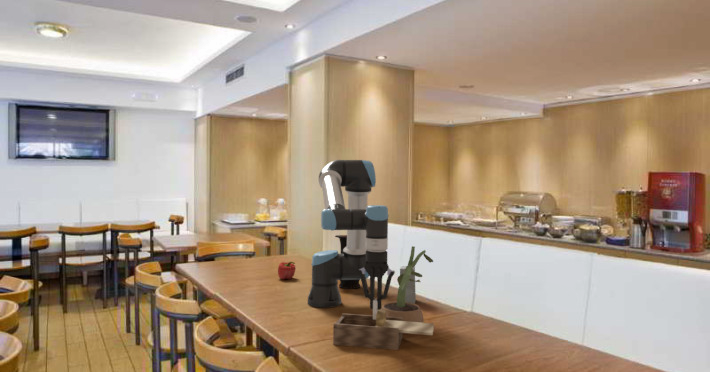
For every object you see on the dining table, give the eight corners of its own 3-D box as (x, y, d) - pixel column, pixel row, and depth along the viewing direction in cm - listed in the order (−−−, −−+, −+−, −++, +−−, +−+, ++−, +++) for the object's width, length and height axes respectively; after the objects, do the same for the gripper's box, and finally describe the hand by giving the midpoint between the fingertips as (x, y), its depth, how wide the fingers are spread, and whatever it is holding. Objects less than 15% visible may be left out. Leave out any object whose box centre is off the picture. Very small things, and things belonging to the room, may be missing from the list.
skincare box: (414, 304, 215) (415, 269, 215) (398, 303, 217) (399, 268, 217) (416, 299, 224) (416, 265, 223) (400, 298, 225) (401, 265, 225)
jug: (325, 289, 242) (325, 229, 242) (339, 281, 260) (340, 226, 259) (364, 293, 235) (364, 232, 234) (376, 285, 252) (377, 228, 251)
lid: (374, 330, 160) (374, 316, 160) (379, 321, 170) (379, 307, 170) (432, 335, 156) (432, 320, 156) (434, 325, 166) (434, 312, 166)
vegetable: (300, 278, 267) (300, 260, 267) (288, 281, 258) (288, 263, 258) (285, 276, 273) (285, 258, 273) (273, 279, 264) (273, 261, 264)
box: (333, 344, 162) (333, 323, 162) (342, 332, 175) (342, 313, 175) (398, 350, 157) (398, 328, 157) (402, 337, 170) (402, 317, 170)
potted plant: (408, 337, 170) (409, 253, 169) (369, 326, 182) (370, 247, 182) (442, 324, 187) (443, 247, 186) (405, 314, 199) (406, 242, 198)
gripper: (355, 250, 163) (354, 320, 163) (393, 252, 160) (392, 323, 160) (360, 247, 170) (359, 314, 170) (396, 249, 167) (395, 316, 168)
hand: (375, 318), depth 165 cm, fingers closed
